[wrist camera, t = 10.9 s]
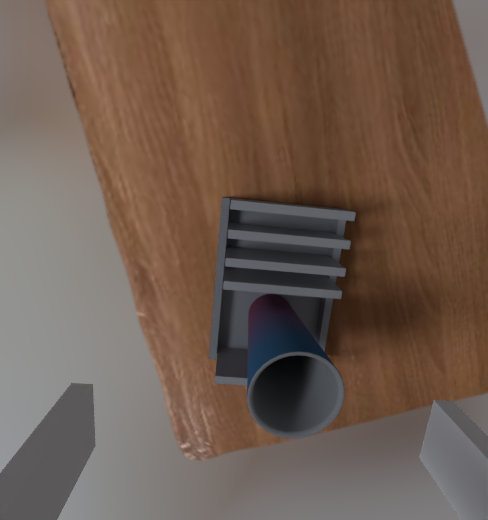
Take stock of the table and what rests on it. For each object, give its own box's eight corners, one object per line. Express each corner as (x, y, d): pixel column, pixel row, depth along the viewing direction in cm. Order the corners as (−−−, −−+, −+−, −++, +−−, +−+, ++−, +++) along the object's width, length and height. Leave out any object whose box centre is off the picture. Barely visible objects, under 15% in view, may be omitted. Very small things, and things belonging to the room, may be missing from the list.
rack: (223, 196, 35) (220, 198, 28) (339, 208, 36) (365, 213, 29) (210, 347, 39) (205, 382, 32) (316, 355, 39) (334, 391, 32)
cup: (309, 299, 37) (361, 372, 22) (284, 349, 38) (318, 450, 23) (255, 276, 36) (272, 337, 21) (231, 329, 37) (231, 420, 22)
